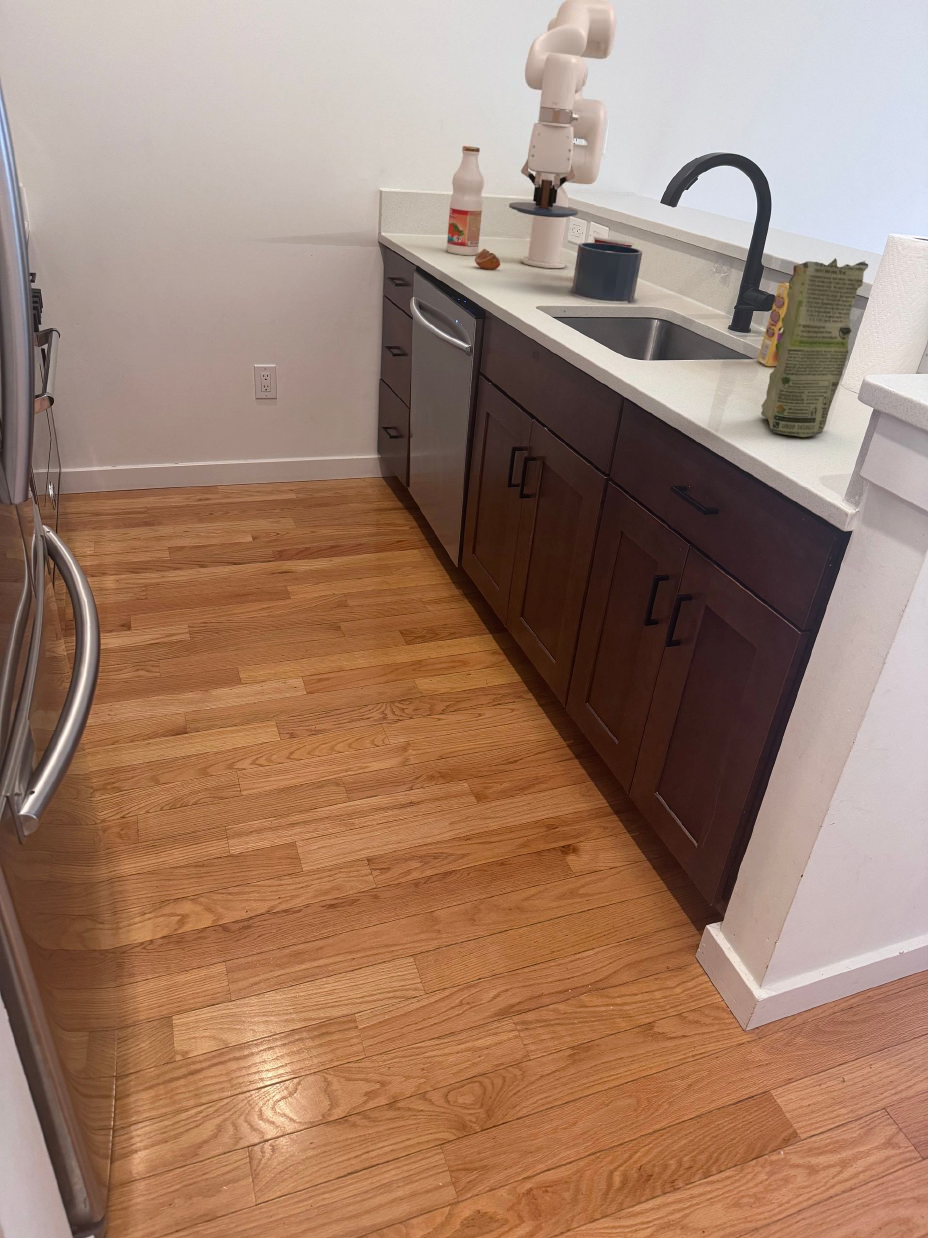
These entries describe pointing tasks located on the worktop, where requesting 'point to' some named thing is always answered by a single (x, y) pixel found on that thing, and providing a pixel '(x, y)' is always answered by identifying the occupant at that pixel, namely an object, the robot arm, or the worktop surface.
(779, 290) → the candy box
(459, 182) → the fruit juice
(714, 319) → the worktop surface
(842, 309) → the pouch
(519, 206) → the lid
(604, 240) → the plastic cup
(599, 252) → the pot
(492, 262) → the fruit slice
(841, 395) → the worktop surface
